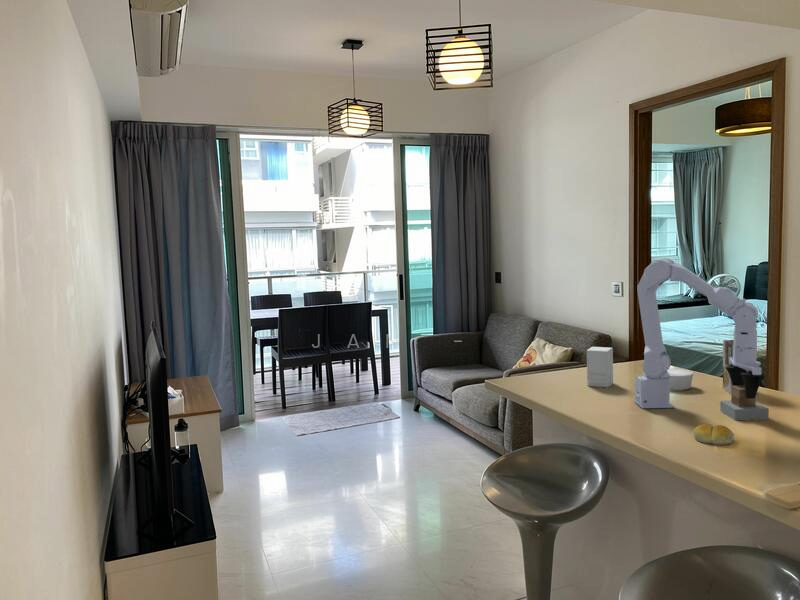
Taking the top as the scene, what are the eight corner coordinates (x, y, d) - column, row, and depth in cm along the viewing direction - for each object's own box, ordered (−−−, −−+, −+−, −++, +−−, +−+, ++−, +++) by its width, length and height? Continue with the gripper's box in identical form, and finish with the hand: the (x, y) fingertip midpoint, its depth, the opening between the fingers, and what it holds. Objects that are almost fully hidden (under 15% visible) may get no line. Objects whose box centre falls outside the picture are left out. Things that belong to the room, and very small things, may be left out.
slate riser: (734, 420, 175) (734, 409, 174) (720, 410, 184) (720, 400, 183) (768, 419, 174) (768, 408, 174) (752, 410, 183) (752, 400, 183)
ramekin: (653, 389, 210) (653, 373, 210) (660, 382, 220) (660, 367, 219) (690, 393, 204) (690, 377, 204) (695, 385, 213) (695, 370, 213)
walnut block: (738, 407, 176) (739, 389, 176) (731, 402, 181) (731, 385, 180) (755, 406, 176) (755, 389, 176) (747, 402, 181) (748, 385, 180)
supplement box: (613, 383, 220) (613, 347, 219) (608, 388, 214) (608, 351, 213) (592, 381, 224) (592, 346, 223) (586, 385, 218) (586, 349, 217)
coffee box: (752, 395, 199) (753, 344, 197) (730, 394, 200) (731, 344, 198) (743, 387, 208) (744, 339, 206) (721, 387, 209) (722, 339, 207)
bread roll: (697, 433, 166) (697, 418, 165) (735, 438, 160) (736, 423, 160) (689, 442, 159) (689, 426, 159) (728, 448, 154) (728, 432, 153)
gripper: (773, 351, 169) (772, 401, 171) (747, 341, 184) (746, 387, 185) (746, 352, 170) (745, 401, 171) (722, 342, 184) (721, 388, 186)
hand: (744, 394), depth 178 cm, fingers open, 7 cm apart
